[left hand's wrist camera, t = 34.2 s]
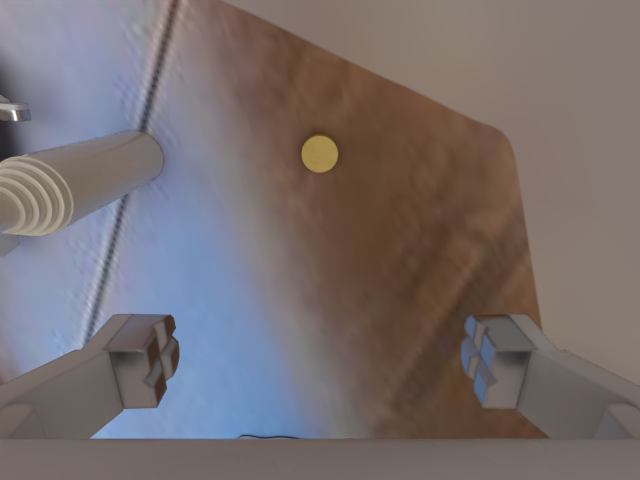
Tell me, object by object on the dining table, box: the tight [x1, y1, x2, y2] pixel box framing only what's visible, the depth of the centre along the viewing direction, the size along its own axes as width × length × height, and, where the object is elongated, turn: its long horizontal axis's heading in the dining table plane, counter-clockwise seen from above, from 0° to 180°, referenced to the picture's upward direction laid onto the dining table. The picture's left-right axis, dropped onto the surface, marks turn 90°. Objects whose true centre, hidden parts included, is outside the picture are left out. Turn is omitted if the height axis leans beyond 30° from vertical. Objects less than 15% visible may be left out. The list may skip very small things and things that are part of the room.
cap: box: [301, 133, 338, 173], centre depth 40 cm, size 4×4×2 cm
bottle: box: [0, 130, 163, 236], centre depth 31 cm, size 6×6×22 cm
